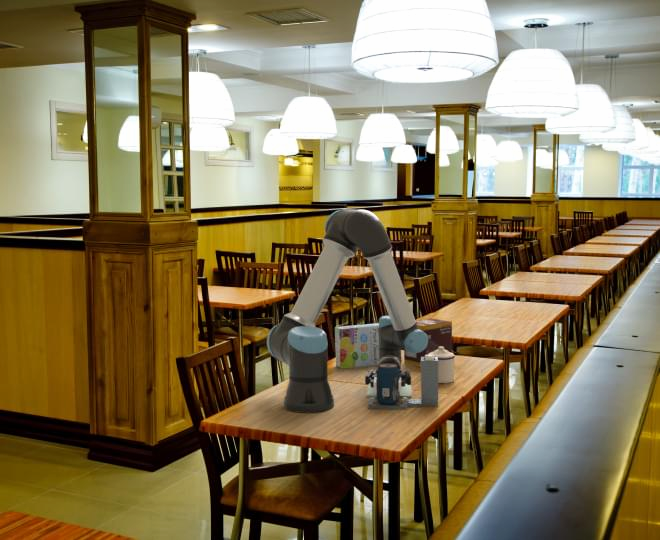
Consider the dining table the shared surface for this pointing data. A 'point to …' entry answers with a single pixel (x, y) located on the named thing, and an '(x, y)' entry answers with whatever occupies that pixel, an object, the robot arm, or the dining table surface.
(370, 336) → the snack box
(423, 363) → the grey l-shaped piece
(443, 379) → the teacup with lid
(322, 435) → the dining table surface
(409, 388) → the pad
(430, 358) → the plunger
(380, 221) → the robot arm
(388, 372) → the soda can
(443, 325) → the supplement box
